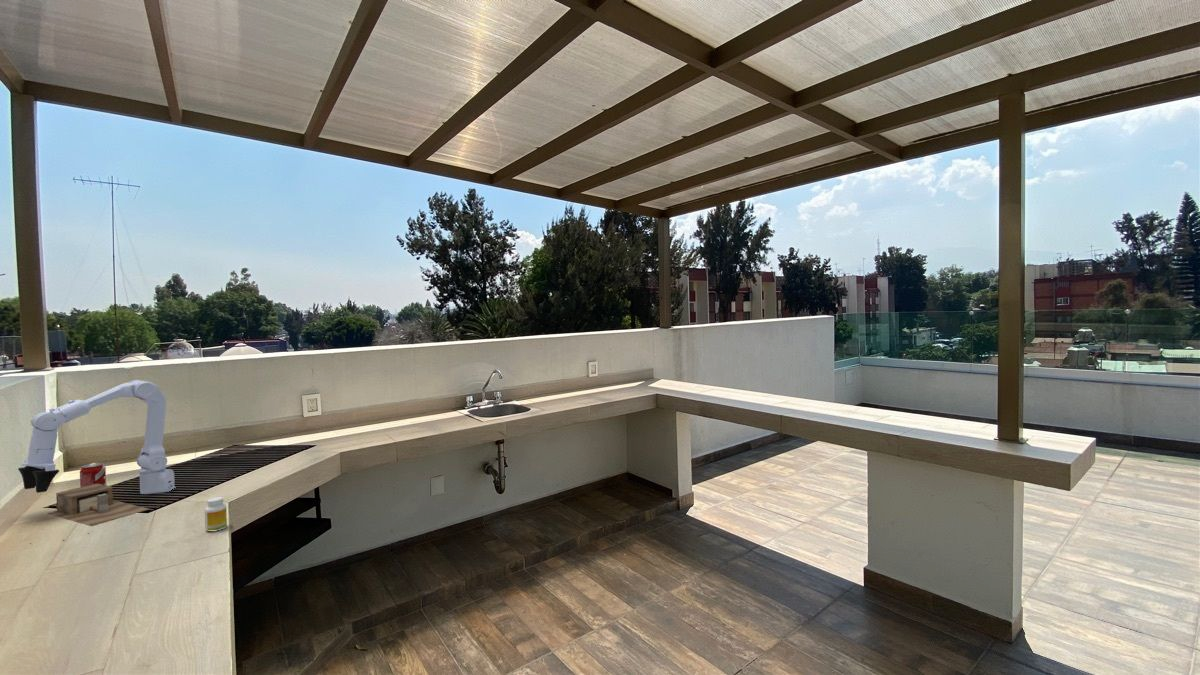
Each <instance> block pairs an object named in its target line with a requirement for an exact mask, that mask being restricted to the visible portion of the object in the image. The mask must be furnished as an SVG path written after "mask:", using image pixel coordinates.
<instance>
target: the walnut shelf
mask: <svg viewBox="0 0 1200 675" xmlns="http://www.w3.org/2000/svg"><path fill="white" fill-rule="evenodd" d="M95 493H97V494H108V512H105V513H102V514H100V513H97V511H95V510H87V511H83V512H77V498H79V497H83V496H87V495H91V494H95ZM55 496H56V497H55V498H56V499H55V500H56V510H54V511H50V512H47V513H46V514H47V515H50V516H54V517H56V518H61V519H65V520H69V521H72V522H75V523H79V524H82V525H86V526H90V527H94V526H98V525H101V524H105V523H108V522H112V521H115V520H118V519H122V518H125V517H129V516H132V515H136V514H138V513H142V512H146V511H148V510H150V508H147V507H142V506H138V505H135V504H130V503H127V502H122V501H119V500H114V499H113V498H114V497H113V486H110V485H107V484H106V485H102V484H97V483H96V484H92V485H88V486H84V487H80V486H79V487H76V488H72V489H68V490H63V491H59V492H56V494H55Z"/></svg>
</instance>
